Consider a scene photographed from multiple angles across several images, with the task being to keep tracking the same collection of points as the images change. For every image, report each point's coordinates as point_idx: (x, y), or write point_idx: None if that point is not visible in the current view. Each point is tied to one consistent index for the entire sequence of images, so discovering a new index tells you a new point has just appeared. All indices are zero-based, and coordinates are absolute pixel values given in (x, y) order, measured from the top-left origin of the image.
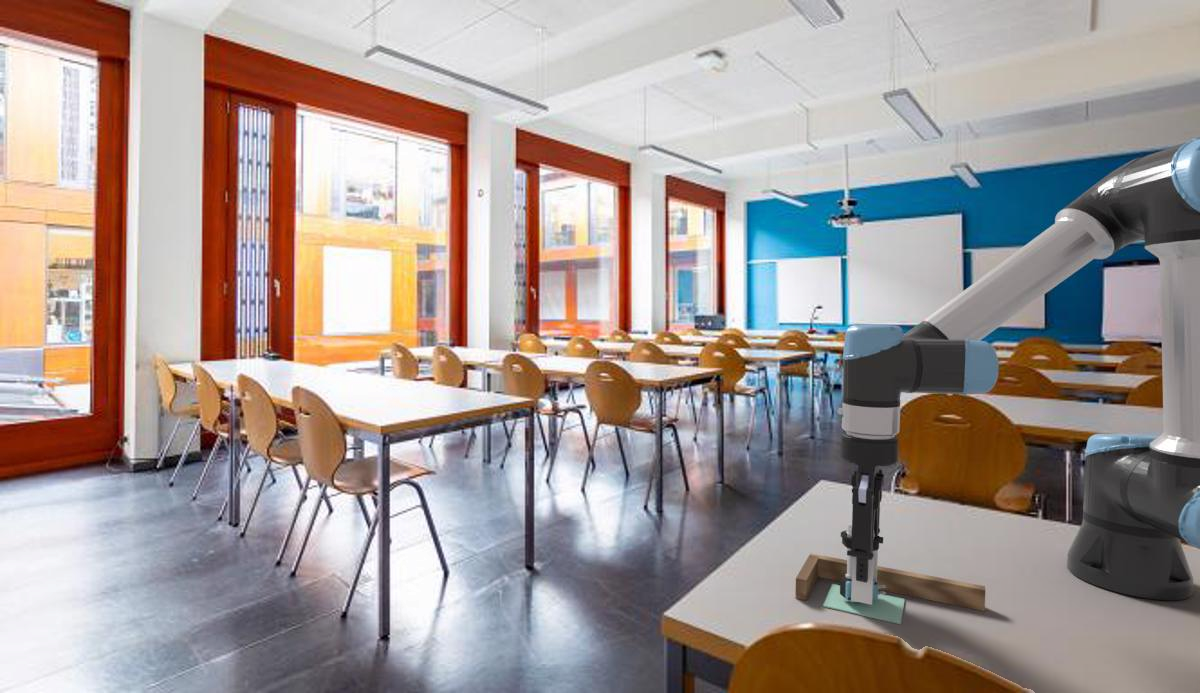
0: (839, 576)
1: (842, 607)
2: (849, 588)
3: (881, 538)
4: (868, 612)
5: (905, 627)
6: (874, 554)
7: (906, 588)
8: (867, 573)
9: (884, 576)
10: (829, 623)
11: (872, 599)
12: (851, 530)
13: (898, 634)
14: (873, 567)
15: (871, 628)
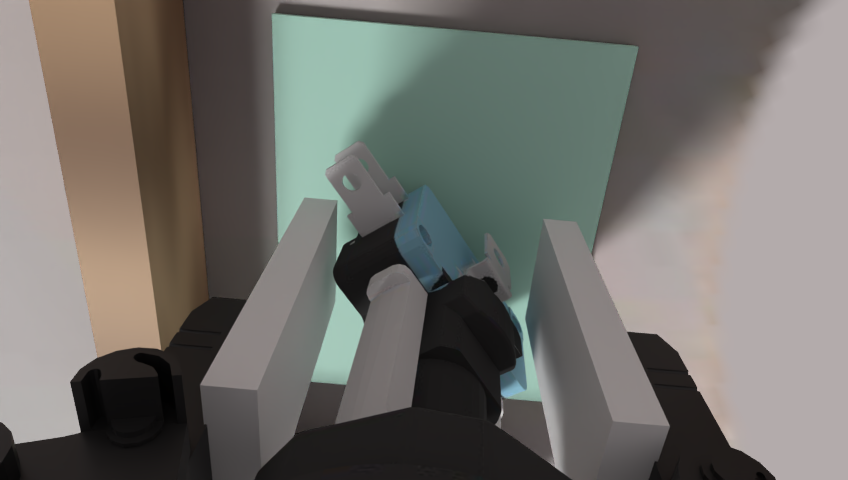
0: None
1: None
2: (519, 360)
3: (113, 395)
4: (559, 215)
5: (664, 18)
6: (283, 352)
7: (164, 4)
8: (661, 374)
9: (157, 163)
10: (721, 366)
11: (549, 228)
12: None
13: (766, 60)
14: (604, 357)
15: (727, 196)
